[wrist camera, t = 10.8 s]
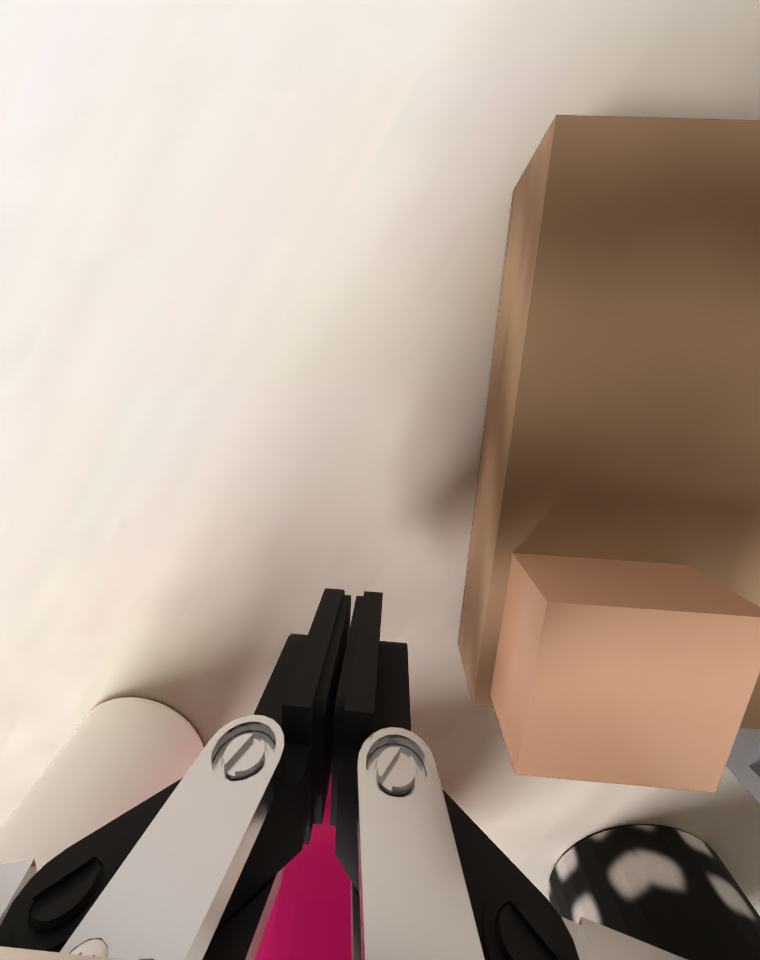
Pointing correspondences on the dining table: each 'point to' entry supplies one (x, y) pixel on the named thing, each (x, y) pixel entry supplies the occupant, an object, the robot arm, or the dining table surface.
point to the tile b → (622, 671)
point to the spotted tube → (657, 893)
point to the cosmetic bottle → (100, 776)
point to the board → (624, 365)
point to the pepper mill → (311, 904)
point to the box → (746, 760)
